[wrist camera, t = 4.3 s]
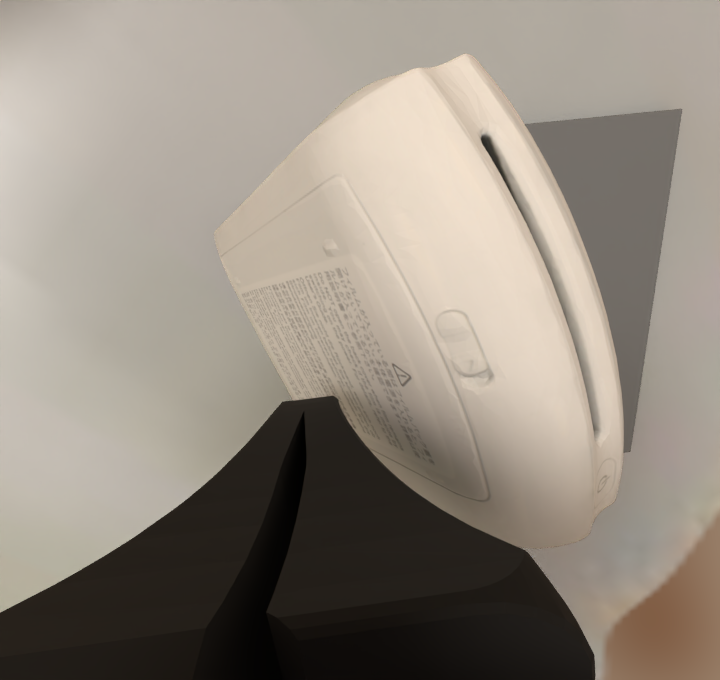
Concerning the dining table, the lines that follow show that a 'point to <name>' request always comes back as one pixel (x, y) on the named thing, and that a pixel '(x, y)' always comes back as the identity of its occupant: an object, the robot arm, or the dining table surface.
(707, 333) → the dining table surface
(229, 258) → the photo printer
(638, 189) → the rubber mat
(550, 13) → the dining table surface
